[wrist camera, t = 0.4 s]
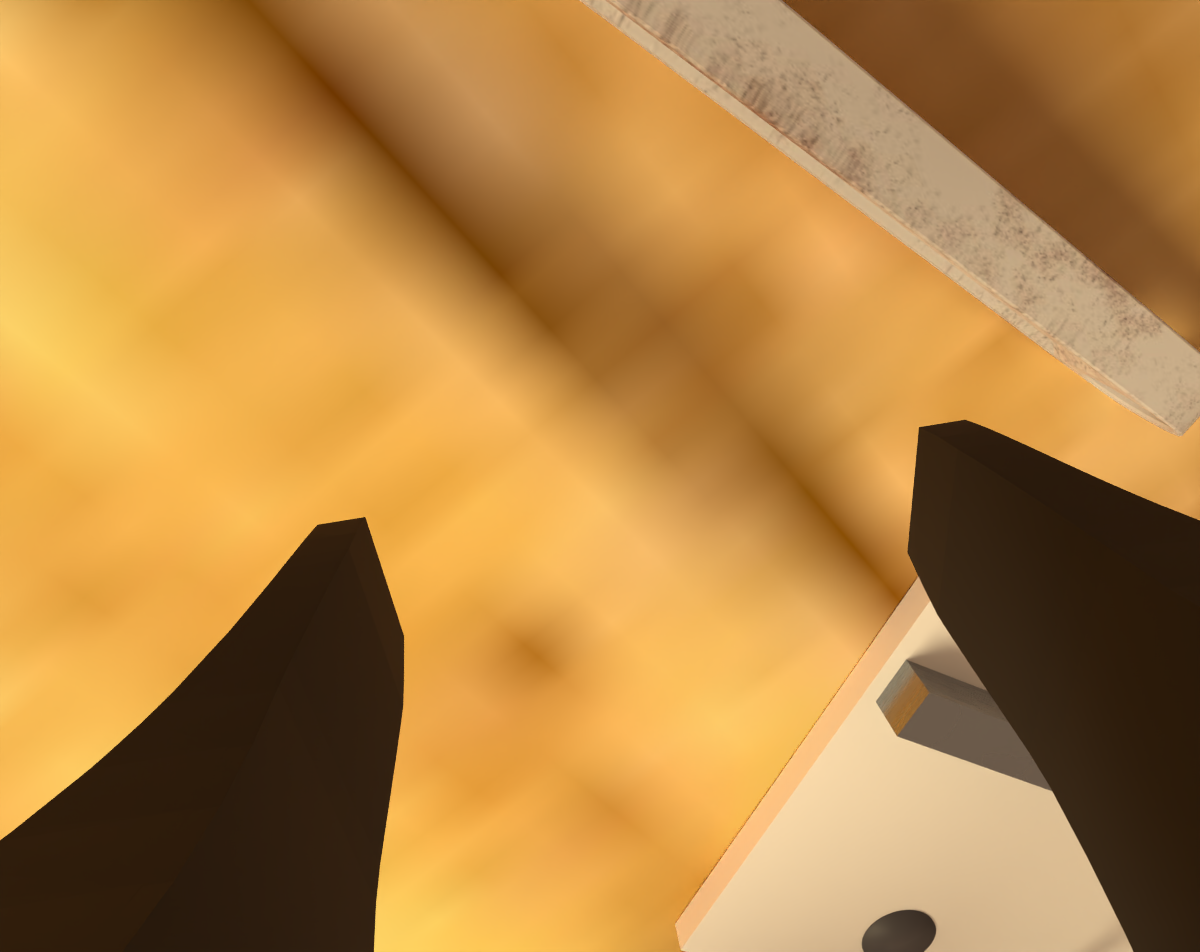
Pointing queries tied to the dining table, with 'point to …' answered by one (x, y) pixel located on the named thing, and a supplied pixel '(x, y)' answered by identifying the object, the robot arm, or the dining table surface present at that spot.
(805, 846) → the hole plate
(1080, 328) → the wrench
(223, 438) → the dining table surface
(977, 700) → the bar
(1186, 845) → the robot arm
